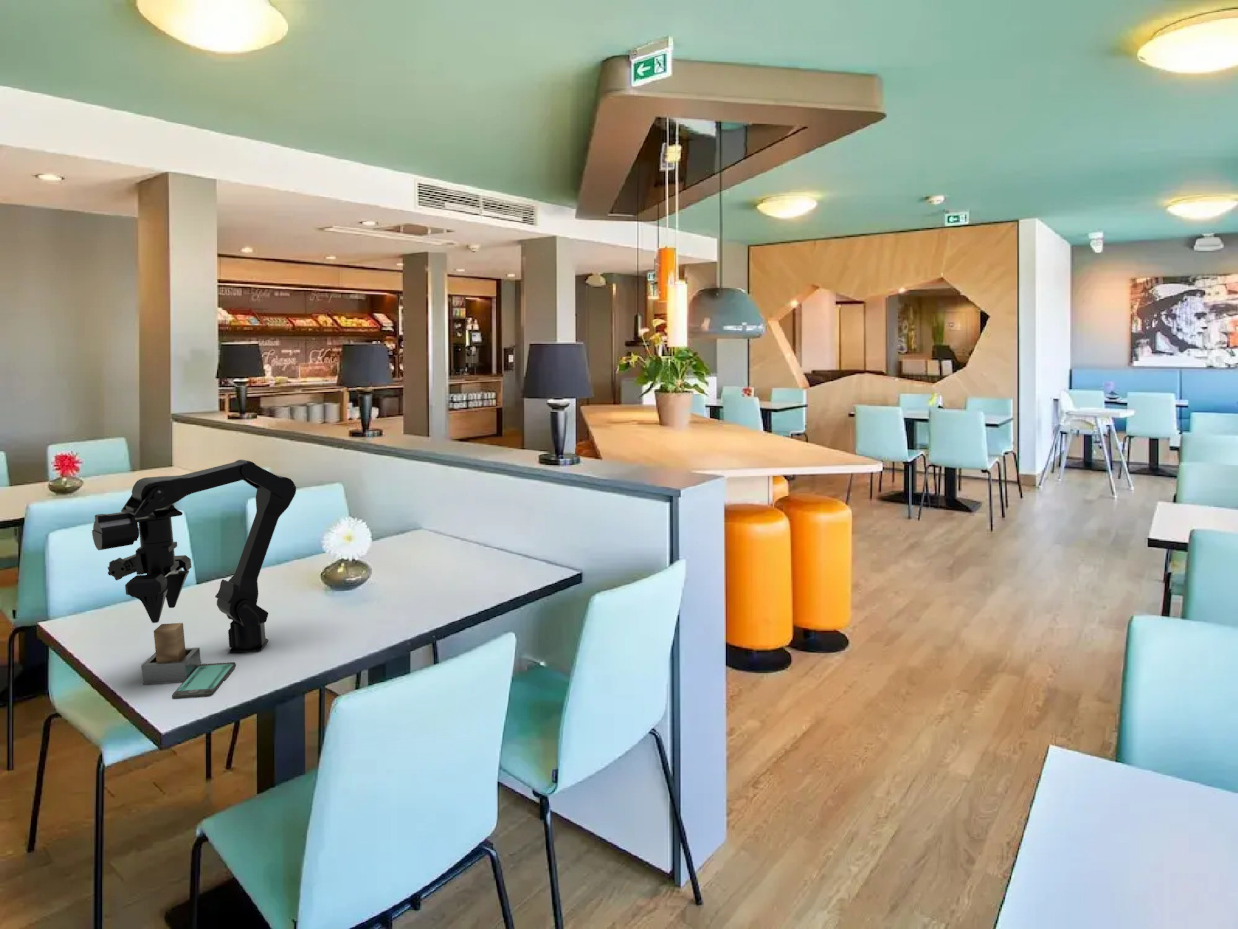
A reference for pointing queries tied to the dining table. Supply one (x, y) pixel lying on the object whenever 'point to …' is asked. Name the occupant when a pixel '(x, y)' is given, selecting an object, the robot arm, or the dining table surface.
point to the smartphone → (204, 680)
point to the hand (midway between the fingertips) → (163, 614)
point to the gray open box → (170, 668)
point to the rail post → (169, 642)
